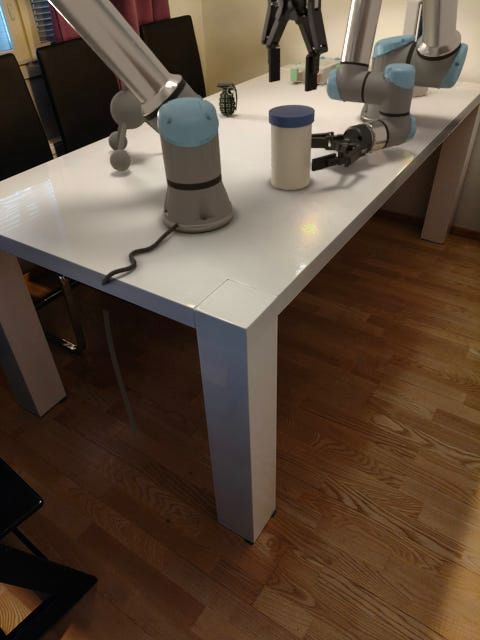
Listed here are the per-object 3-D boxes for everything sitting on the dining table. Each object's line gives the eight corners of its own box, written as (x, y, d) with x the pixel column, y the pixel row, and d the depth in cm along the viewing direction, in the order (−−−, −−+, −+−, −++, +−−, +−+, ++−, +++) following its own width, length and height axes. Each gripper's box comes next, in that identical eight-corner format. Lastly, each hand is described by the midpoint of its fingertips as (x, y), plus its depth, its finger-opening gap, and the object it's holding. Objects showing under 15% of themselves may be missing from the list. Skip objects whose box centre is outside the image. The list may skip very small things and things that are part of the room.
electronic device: (396, 99, 175) (410, -1, 157) (386, 94, 181) (398, -2, 163) (427, 95, 178) (444, -4, 159) (416, 90, 183) (431, -5, 165)
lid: (260, 124, 110) (260, 114, 109) (281, 112, 117) (281, 103, 116) (302, 129, 106) (302, 119, 104) (321, 117, 113) (322, 107, 111)
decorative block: (312, 54, 215) (354, 57, 206) (311, 70, 219) (352, 74, 210) (281, 65, 199) (325, 69, 190) (281, 83, 203) (324, 87, 194)
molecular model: (194, 162, 134) (180, 38, 116) (114, 177, 128) (87, 49, 110) (171, 138, 152) (156, 27, 133) (100, 151, 146) (75, 36, 127)
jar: (264, 186, 119) (263, 116, 109) (282, 172, 126) (282, 105, 116) (299, 192, 115) (301, 120, 105) (315, 178, 122) (319, 109, 112)
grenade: (217, 117, 168) (214, 86, 162) (221, 112, 172) (219, 82, 166) (235, 117, 166) (233, 86, 160) (239, 113, 171) (238, 82, 165)
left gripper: (242, -36, 100) (246, 80, 113) (321, -36, 84) (315, 98, 97) (271, -38, 103) (271, 74, 116) (353, -39, 87) (343, 91, 101)
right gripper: (396, 167, 118) (327, 188, 110) (331, 141, 135) (267, 158, 127) (401, 136, 113) (329, 155, 105) (333, 113, 131) (267, 128, 123)
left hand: (291, 85), depth 107 cm, fingers open, 12 cm apart
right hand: (295, 157), depth 116 cm, fingers open, 13 cm apart
